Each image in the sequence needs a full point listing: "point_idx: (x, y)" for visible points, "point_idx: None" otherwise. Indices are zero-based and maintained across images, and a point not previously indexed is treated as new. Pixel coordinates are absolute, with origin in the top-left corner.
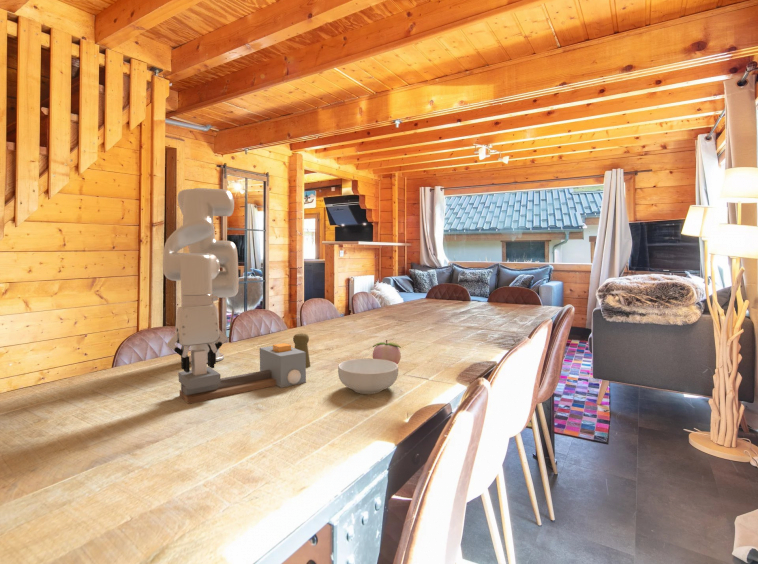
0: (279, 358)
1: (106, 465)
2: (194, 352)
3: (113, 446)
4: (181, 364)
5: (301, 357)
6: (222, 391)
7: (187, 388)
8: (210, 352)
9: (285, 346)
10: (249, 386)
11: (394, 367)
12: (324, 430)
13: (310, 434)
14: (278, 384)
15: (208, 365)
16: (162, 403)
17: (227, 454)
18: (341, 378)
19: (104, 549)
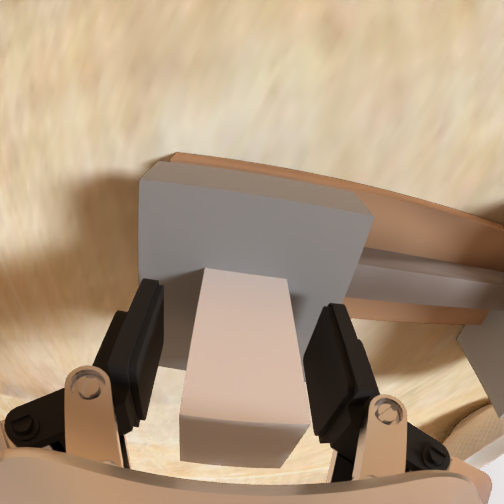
0: (500, 406)
1: (21, 402)
2: (181, 460)
3: (12, 369)
4: (111, 328)
5: None
6: None
7: None
8: (333, 429)
9: None
10: (406, 319)
11: (499, 449)
12: (292, 482)
13: (271, 482)
14: (467, 330)
15: (322, 316)
16: (91, 201)
17: (157, 467)
18: (451, 449)
19: None
